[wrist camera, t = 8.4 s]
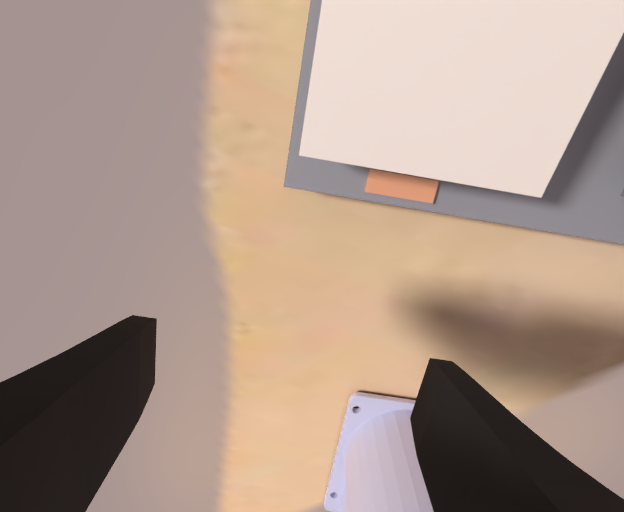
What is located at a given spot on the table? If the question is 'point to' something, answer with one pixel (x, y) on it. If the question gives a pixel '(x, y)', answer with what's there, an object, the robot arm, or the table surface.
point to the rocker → (456, 86)
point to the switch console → (488, 202)
